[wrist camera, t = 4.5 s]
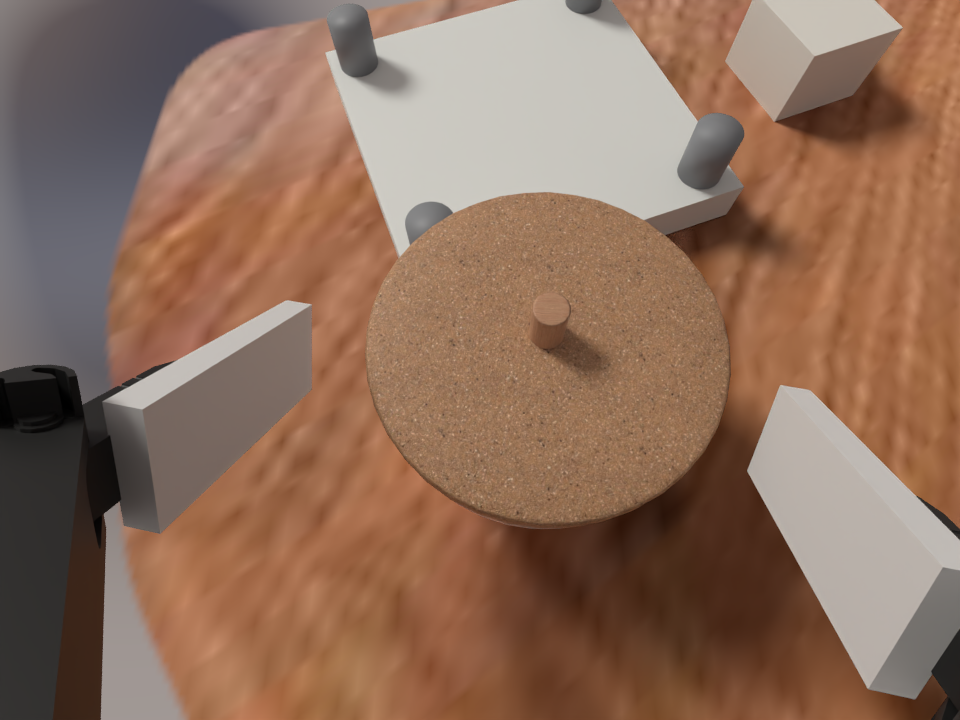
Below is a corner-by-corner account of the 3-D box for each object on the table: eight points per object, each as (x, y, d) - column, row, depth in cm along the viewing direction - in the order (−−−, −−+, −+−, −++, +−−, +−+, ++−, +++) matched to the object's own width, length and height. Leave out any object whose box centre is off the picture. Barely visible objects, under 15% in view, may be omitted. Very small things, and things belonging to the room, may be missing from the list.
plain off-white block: (851, 97, 29) (903, 27, 26) (773, 123, 29) (814, 56, 25) (798, 39, 31) (839, -33, 27) (724, 63, 30) (755, -8, 27)
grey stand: (726, 214, 26) (770, 145, 22) (420, 317, 24) (405, 263, 20) (590, 13, 32) (604, -71, 28) (335, 84, 30) (310, 6, 26)
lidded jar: (419, 296, 25) (379, 145, 16) (649, 307, 24) (735, 158, 16) (388, 534, 21) (314, 502, 12) (664, 553, 20) (791, 536, 12)
